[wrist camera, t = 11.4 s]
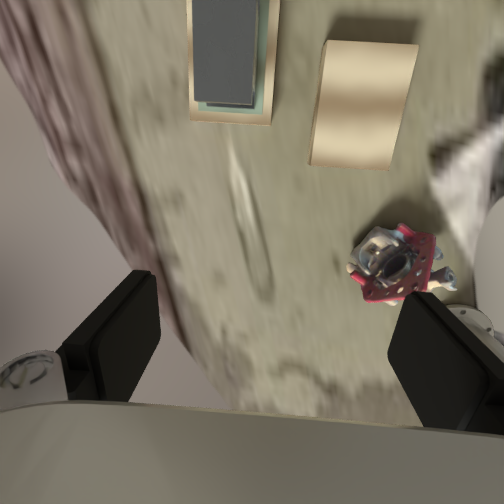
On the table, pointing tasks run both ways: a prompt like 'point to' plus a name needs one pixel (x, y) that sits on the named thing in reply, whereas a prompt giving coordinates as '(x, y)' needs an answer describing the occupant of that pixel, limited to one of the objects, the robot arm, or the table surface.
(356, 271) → the motor mount assembly
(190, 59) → the stand
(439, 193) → the table surface
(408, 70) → the stand
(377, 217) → the table surface
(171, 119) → the table surface
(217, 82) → the block
